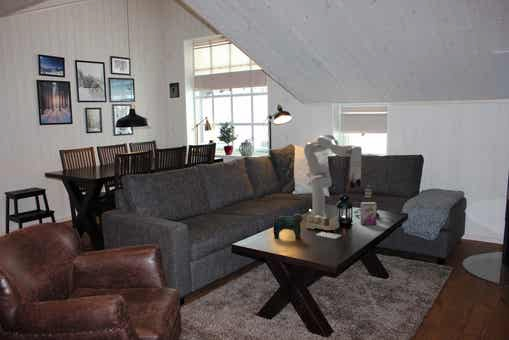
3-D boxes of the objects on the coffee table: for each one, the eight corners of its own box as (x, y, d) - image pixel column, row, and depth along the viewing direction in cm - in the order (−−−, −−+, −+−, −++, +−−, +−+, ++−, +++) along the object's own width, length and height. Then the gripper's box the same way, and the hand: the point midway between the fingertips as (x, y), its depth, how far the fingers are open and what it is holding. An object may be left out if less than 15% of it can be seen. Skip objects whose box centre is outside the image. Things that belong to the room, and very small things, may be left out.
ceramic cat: (303, 237, 290) (302, 208, 287) (302, 240, 284) (302, 210, 281) (274, 236, 293) (273, 208, 290) (273, 239, 287) (272, 210, 284)
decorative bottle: (387, 218, 331) (388, 187, 327) (362, 221, 326) (363, 189, 322) (373, 212, 352) (373, 182, 348) (349, 214, 347) (350, 184, 344)
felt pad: (315, 235, 293) (315, 234, 293) (322, 232, 300) (322, 231, 300) (335, 239, 284) (335, 238, 284) (341, 235, 291) (341, 235, 291)
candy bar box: (361, 225, 315) (361, 203, 312) (360, 223, 320) (360, 202, 317) (376, 225, 314) (377, 203, 311) (375, 223, 319) (375, 202, 316)
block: (313, 227, 313) (313, 216, 312) (317, 225, 317) (317, 215, 315) (328, 229, 305) (328, 219, 304) (331, 228, 309) (331, 217, 308)
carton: (306, 227, 311) (306, 216, 310) (317, 223, 323) (317, 211, 321) (328, 232, 299) (328, 219, 298) (339, 227, 311) (339, 215, 309)
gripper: (356, 161, 316) (355, 184, 319) (345, 164, 302) (345, 188, 305) (365, 162, 311) (365, 185, 314) (355, 165, 298) (355, 189, 301)
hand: (355, 186), depth 310 cm, fingers open, 9 cm apart
